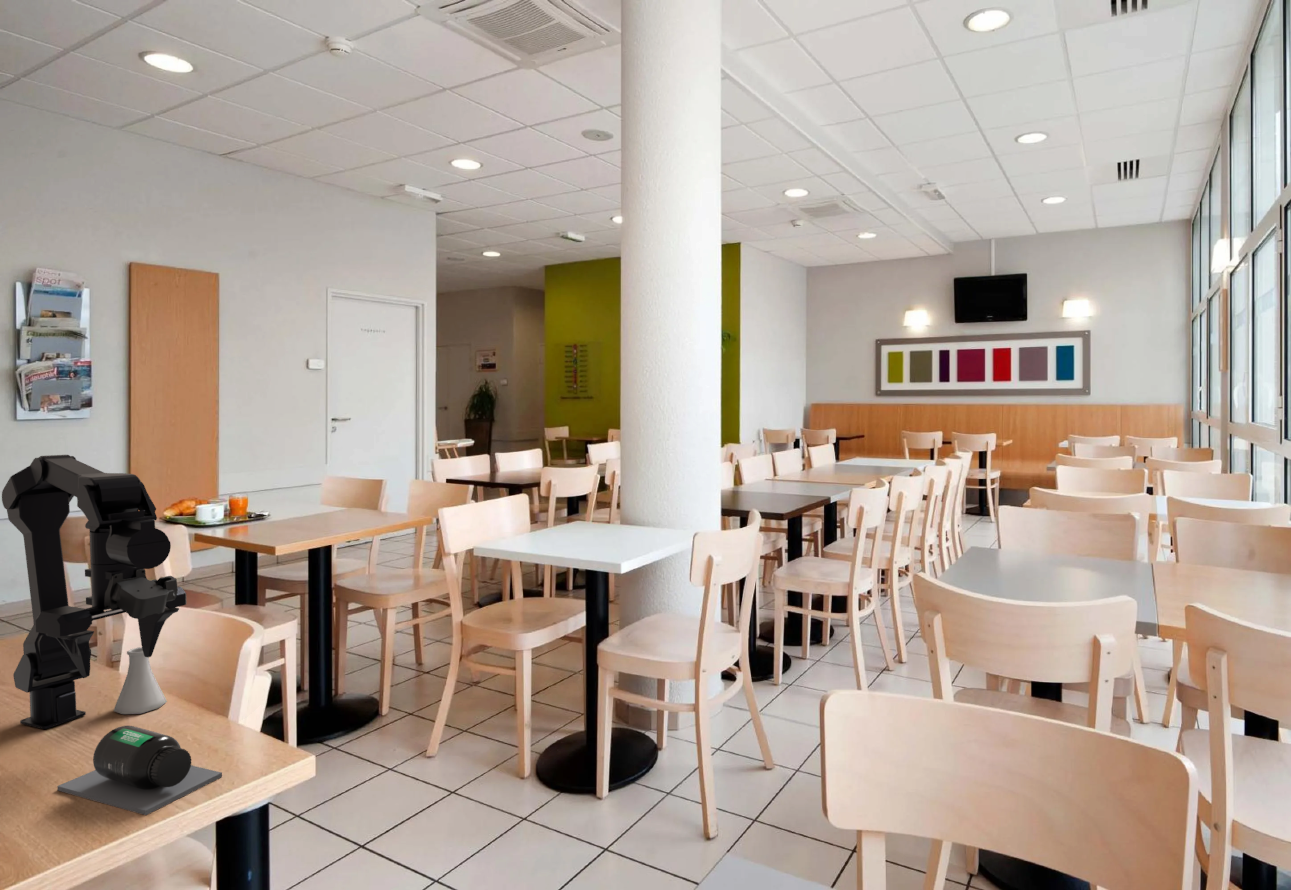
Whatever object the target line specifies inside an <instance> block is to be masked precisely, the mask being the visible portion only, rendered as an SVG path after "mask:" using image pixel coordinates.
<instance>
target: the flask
mask: <svg viewBox="0 0 1291 890" xmlns="http://www.w3.org/2000/svg"><path fill="white" fill-rule="evenodd" d="M126 654H127V656H128V661H129V664H128V667H127V668H128V669H127V672H126V673H127V674H126V677H125V679H124V682H123V686H122V688H121V691H120V693H119V696H118V698H117V701H116V703H115V705H114V708H113V712H115V713H117V714H121V715H137V714H138V715H139V714H144V713H147V712H151V711H153V710H156V709H160V708H161V707H162V706H163V705H165V704H166V703H167V702H168V701H167V699H166V697H165V695H164V693H163V691H162V689H161V687H160V685H159V683H158V681H157V679H156V676H155V675H154V672H153V671H152V666H151V663H150V657H145V656H144V653H143V650H142V646H140V647H136V648H130V649H129V650H127V651H126Z"/></svg>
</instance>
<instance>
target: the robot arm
mask: <svg viewBox="0 0 1291 890" xmlns="http://www.w3.org/2000/svg"><path fill="white" fill-rule="evenodd" d="M6 482H7V483H6V484H5V486H4V487H3V488H2V491H1V502H2V506H3V508H4V509H6V513H7V519H8V521H9V522H10V523H11V524H12V525H13V526H14V527H15V528H16V529H17V530H18V531H19V532H20V533H21V535H22V536H23V542H24V544H23V545H24V552H25V560H26V568H27V577H28V578H27V579H28V587H29V595H30V596H29V597H30V601H31V602H30V604H31V611H32V612H31V613H32V619H33V622H32V623H33V625H32V627H31V629H30V631H29V633H28V634H27V636H26V638H25V639H24V641H23V643H22V645H23V646H22V647H23V648H22V649H23V650H22V651H23V654H22V656H21V658H20V660H19V662H18V664H17V666H16V667H15V670H14V673H13V675H12V676H13V677H12V678H13V681H14V682H13V683H14V686H15V689H17V690H21V691H23V692H24V693H27V694H28V693H29V708H30V709H29V711H30V712H29V713H30V716H29V717H26V718H22V719H21V720H20V721H19V723H20V725H21V724H22V725H25V726H29V727H34V728H37V729H42V730H48V729H51V728H52V727H55V726H59V725H61V724H64V723H67V722H69V721H72V720H76V719H79V718H81V717H83V716H85V715H87V713H86V711H83V710H80V709H77V697H76V695H77V693H76V683H75V682H76V681H75V680H79V679H80V680H81V679H86V678H88V677H89V676H90V674H91V657H92V649H91V647H90V640H91V639H92V637H93V635H94V633H95V631H94V630H89V628H90V627H91V625H93V621H96V620H100V619H104V618H108V617H112V616H116V615H121V614H125V613H126V614H127V615H128V616H129V617H131V619H136V620H137V622H138V630H139V637H140V645H141V647H142V650H143V653H144V656H145V657H149V658H151V657H152V656H153V653H154V650H155V647H156V644H157V642H158V640H159V637H160V634H161V631H162V629H163V627H164V625H165V622H166V621H167V620H168V619H169V618H170V617H171V616H172V615H174V614H175V613H177V612H179V611H180V607H183V606H186V605H187V604H188V602H187V601H188V600H187V593H186V591H185V590H184V588H183V587H182V586H178V581H177V578H175V577H174V576H172V575H168V576H167V575H166V576H162V577H159V578H158V579H151V580H149V579H148V578H147V576H146V575H147V574H146V570H150V569H155V568H158V567H159V566H160V565H162V564H163V563H164V562H165V561H167V560H166V559H168V557H169V555H170V552H171V541H170V540H169V538H168V536H167V534H166V533H165V532H164V531H162V530H161V529H159V528H156V521H157V519H158V516H157V514H156V510H157V508H156V506H155V504H154V502H153V500H152V499H151V497H150V495H149V493H148V491H147V489H146V487H145V484H144V483H143V482H142V481H141V479H140V478H139V477H138V475H136V474H133V473H124V472H119V473H116V472H113V473H112V472H104V471H101V470H100V469H97V468H95V467H93V466H91V465H88V464H87V463H83V461H82V462H81V461H79V460H77V459H76V457H75V456H73V455H69V454H57V455H56V454H54V455H53V454H52V455H49V454H48V455H40V456H39V457H35V458H33V459H32V462H31V463H30V465H28V466H26V467H25V468H23V469H21V470H20V471H17V472H16V473H14V474H12V475H11V476H10V477H9V479H8V480H7V481H6ZM74 497H75V498H76V503H77V505H76V506H77V508H78V509H80V510H81V511H82V513H83V514H84V516H85V518H86V519H87V521H86V523H85V525H84V527H85V529H86V530H89V553H90V555H89V558H90V559H89V560H90V568H85V569H84V577H87V578H90V580H91V581H90V585H91V588H90V589H91V595H90V596H86V597H85V605H88V606H91V607H86V608H84V607H83V608H82V607H76V606H69V598H68V590H67V588H68V587H67V582H66V572H65V565H64V564H65V563H64V555H63V547H62V537H61V528H62V526H63V525H64V523H65V521H66V520H67V518H68V516H69V514H70V502H71V501H72V500H73V498H74Z"/></svg>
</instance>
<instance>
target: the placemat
mask: <svg viewBox="0 0 1291 890" xmlns="http://www.w3.org/2000/svg"><path fill="white" fill-rule="evenodd" d="M220 778H223V772H221V771H217V770H213V769H209V768H204V767H200V766H197V765H192V764H191V767H190V770H189V772H188V774H187V775H186V777H185V778H184V779H183V780H182V781H181V782H180V783H178V784H177V785H174V786H173V787H163V786H160V787H158V788H155V789H151V790H143V789H139V788H136V787H133V786H130V785H127V784H123V783H120V782H117V781H114V780H111V779H108V778H105V777H103V776H101V775H100V774H98V773H97V771H96V770H95V769H94V770H92V771H89V772H88V773H85V774H83V775H80V776H78V777H75V778H72V779H71V780H68V781H66V782H64V783H61V784H59V785H57V787H56V788H57V791H59V792H61V793H62V792H63V793H66V794H69V795H71V796H72V795H73V796H76V797H80V798H83V799H87V800H90V801H94V802H98V803H101V804H105V805H109V806H112V807H114V808H119V809H122V810H126V811H130V812H134V813H137V814H139V815H140V814H141V815H144V816H147V815H149V814H151V813H153V812H155V811H158V810H159V809H161V808H163V807H165V806H167V805H168V804H169V805H170V804H171V803H173V802H175V801H177V800H179V799H181V798H183V797H185V796H187V795H189V794H191V793H193V792H195V791H197V790H198V789H201V788H202V787H205V786H206V785H208V784H211V783H212V782H215V781H216V780H218V779H219V780H220Z"/></svg>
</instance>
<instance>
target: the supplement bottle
mask: <svg viewBox="0 0 1291 890" xmlns="http://www.w3.org/2000/svg"><path fill="white" fill-rule="evenodd" d="M92 763H93V767H94V770H96V771H97V773H98V774H100V775H101V776H103V777H105V778H108V779H111V780H114V781H117V782H120V783H123V784H127V785H130V786H133V787H136V788H139V789H143V790H151V789H155V788H158V787H160V786H163V787H173V786H174V785H177V784H178V783H180V782H181V781H182V780H183V779H184V778H185V777H186V775H187V774H188V772H189V770H190V767H191V765H192V756H191V754H190V752H189V751H188V750H187V749H185V748H181V745H180V743H179V742H178V740H177V739H175V738H174V737H173V736H170V735H167V734H163V733H160V732H157V731H156V732H155V731H152V730H149V729H145V728H141V727H138V726H133V725H123V726H117V727H116V728H114V729H112V730H110V731H109V732H107V733H106V734H105V735H104V736H103V737H102V738H101V739H100V740H99V742H98V743H97V746H96V748H95V749H94V752H93V757H92Z"/></svg>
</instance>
